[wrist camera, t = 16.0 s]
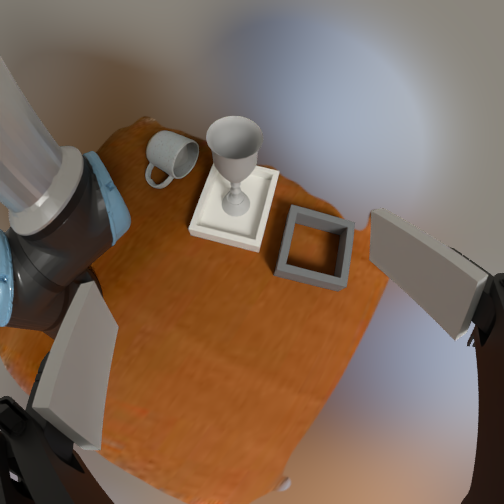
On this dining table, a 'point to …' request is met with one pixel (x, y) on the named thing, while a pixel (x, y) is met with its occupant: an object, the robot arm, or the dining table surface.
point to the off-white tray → (230, 227)
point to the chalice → (235, 157)
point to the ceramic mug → (170, 156)
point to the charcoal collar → (325, 224)
